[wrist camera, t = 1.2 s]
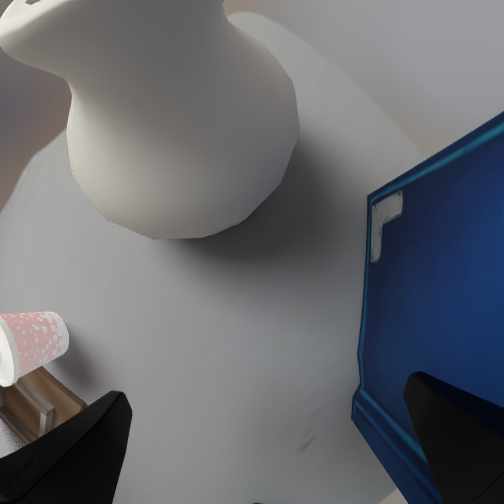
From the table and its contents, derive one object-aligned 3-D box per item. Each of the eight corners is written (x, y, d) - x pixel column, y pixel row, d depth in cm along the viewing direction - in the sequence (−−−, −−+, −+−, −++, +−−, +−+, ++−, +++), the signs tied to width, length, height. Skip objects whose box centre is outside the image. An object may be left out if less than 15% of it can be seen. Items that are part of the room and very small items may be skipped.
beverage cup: (56, 293, 21) (-56, 300, 7) (84, 348, 21) (-23, 393, 7) (28, 319, 21) (-69, 335, 7) (53, 370, 21) (-39, 411, 7)
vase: (293, 112, 23) (344, -85, 3) (269, 265, 22) (436, 196, 2) (151, 99, 23) (69, -56, 3) (109, 236, 22) (-98, 170, 2)
